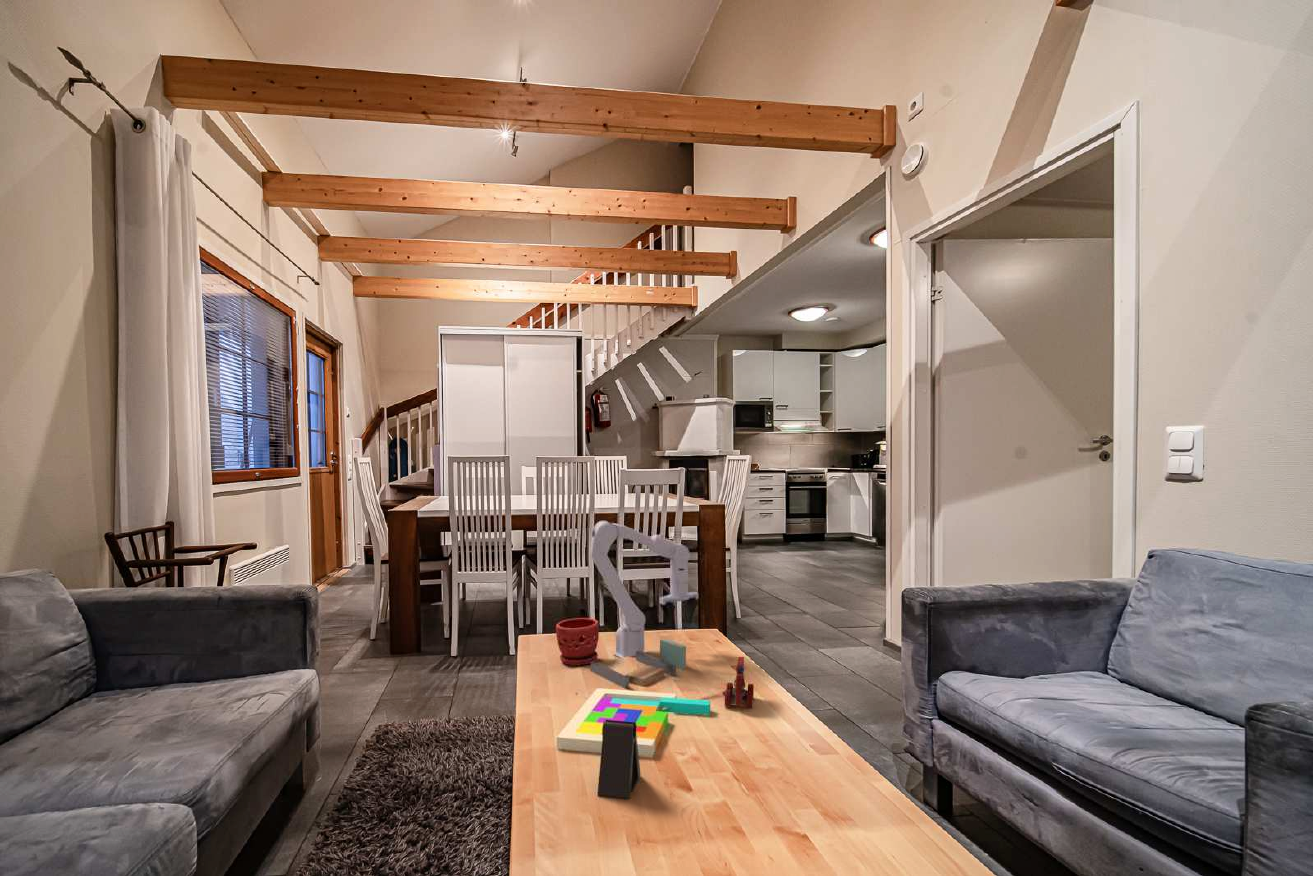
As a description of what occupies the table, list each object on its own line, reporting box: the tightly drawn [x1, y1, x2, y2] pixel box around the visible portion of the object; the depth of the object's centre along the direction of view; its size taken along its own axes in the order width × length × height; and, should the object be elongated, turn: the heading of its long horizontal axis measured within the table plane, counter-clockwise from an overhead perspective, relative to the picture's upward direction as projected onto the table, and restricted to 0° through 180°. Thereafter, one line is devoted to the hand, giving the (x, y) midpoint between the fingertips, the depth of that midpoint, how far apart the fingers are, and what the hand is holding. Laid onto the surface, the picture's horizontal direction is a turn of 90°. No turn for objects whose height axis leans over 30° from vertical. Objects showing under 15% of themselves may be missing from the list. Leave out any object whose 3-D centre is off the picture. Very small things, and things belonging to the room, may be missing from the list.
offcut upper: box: [624, 665, 665, 687], centre depth 176 cm, size 6×10×2 cm, turn 145°
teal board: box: [659, 638, 687, 670], centre depth 189 cm, size 2×10×7 cm, turn 36°
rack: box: [590, 651, 677, 690], centre depth 181 cm, size 18×17×4 cm
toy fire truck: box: [724, 656, 755, 709], centre depth 162 cm, size 7×12×10 cm, turn 169°
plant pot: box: [555, 617, 600, 667], centre depth 196 cm, size 13×13×12 cm
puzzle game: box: [556, 687, 711, 758], centre depth 148 cm, size 30×3×30 cm
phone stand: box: [597, 720, 642, 800], centre depth 121 cm, size 9×6×12 cm, turn 167°
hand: (679, 623), depth 204 cm, fingers open, 7 cm apart
